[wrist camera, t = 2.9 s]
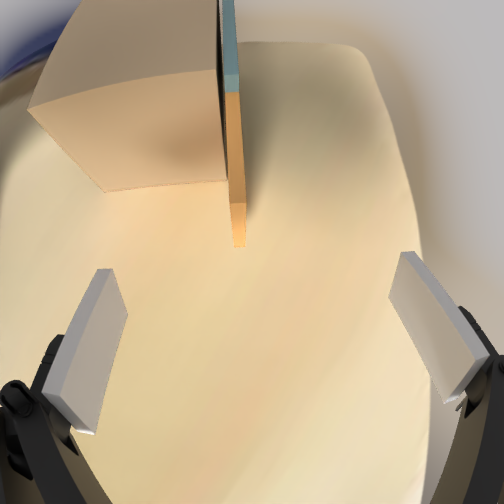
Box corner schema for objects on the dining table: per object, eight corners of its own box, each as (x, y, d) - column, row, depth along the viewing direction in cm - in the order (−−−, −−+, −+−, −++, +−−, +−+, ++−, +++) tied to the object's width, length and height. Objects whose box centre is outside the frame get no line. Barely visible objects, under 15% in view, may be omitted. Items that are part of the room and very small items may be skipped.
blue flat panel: (234, 251, 25) (228, 191, 13) (226, 64, 29) (222, -26, 17) (245, 251, 25) (247, 189, 13) (233, 63, 29) (231, -26, 17)
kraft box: (104, 192, 27) (26, 109, 13) (122, 86, 30) (83, -3, 16) (226, 180, 28) (215, 69, 14) (223, 73, 31) (217, -29, 17)
